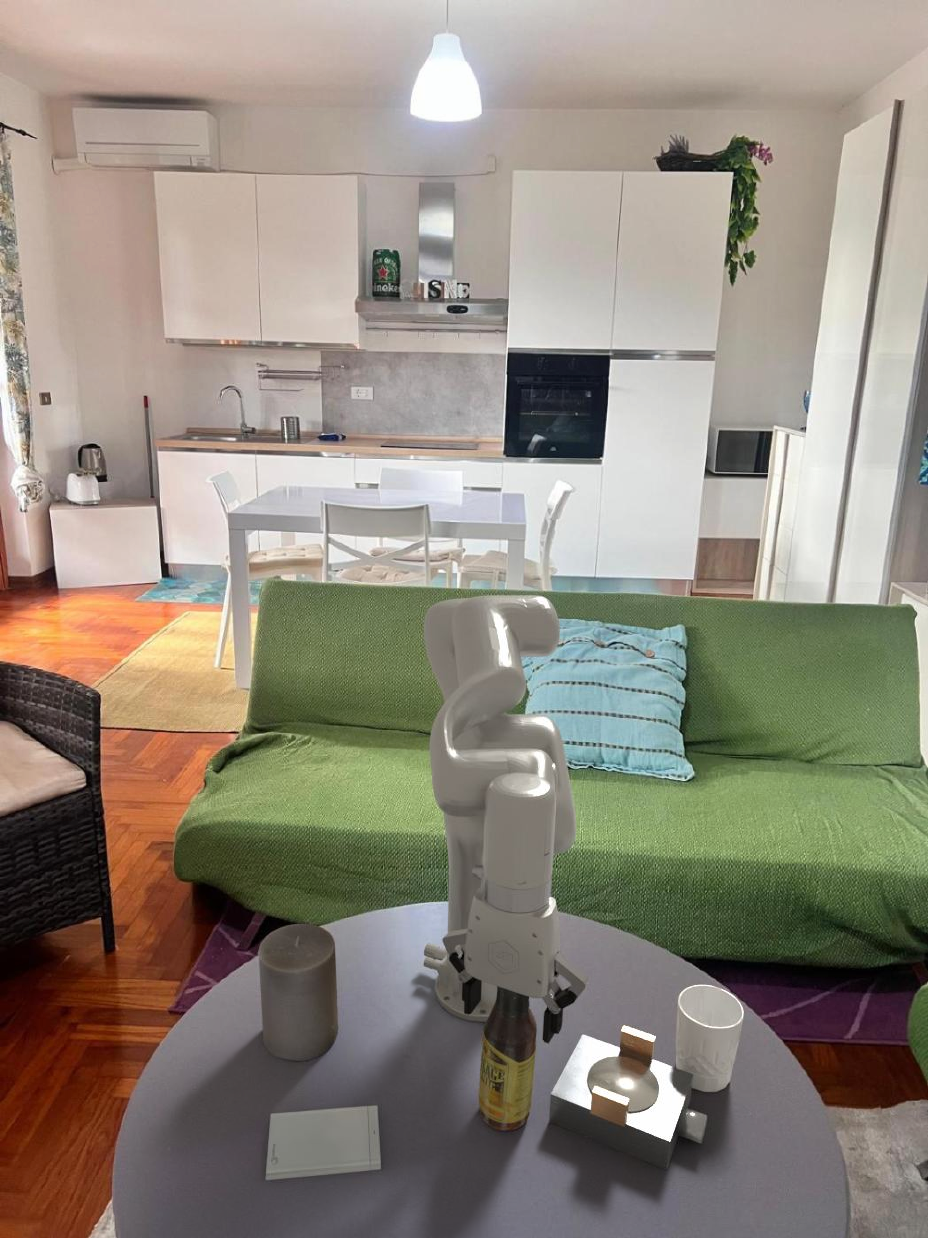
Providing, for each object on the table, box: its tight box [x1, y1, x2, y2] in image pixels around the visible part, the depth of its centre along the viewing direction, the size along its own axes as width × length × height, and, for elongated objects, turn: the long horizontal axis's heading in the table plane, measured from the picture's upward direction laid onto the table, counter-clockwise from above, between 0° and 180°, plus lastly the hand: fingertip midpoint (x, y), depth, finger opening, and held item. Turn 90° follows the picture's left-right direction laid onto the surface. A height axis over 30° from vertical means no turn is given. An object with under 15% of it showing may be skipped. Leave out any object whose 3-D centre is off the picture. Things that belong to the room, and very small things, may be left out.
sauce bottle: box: [478, 986, 538, 1132], centre depth 105 cm, size 6×6×20 cm
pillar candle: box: [257, 923, 339, 1062], centre depth 117 cm, size 10×10×15 cm
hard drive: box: [265, 1104, 382, 1181], centre depth 103 cm, size 2×8×12 cm
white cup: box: [675, 984, 745, 1093], centre depth 113 cm, size 8×8×10 cm
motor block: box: [548, 1025, 708, 1171], centre depth 107 cm, size 17×12×7 cm
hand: (510, 1021), depth 103 cm, fingers open, 9 cm apart
